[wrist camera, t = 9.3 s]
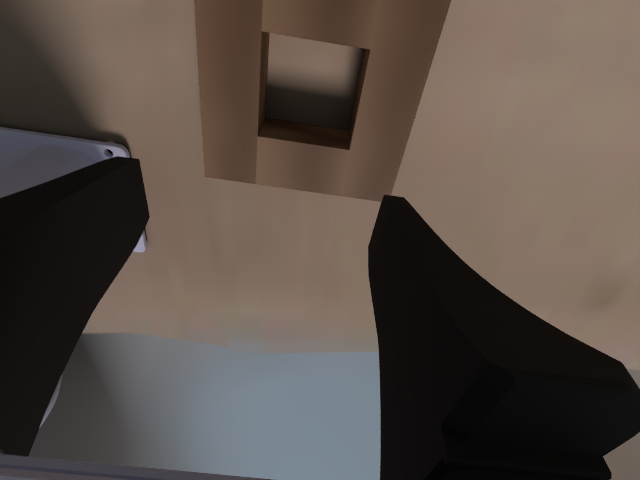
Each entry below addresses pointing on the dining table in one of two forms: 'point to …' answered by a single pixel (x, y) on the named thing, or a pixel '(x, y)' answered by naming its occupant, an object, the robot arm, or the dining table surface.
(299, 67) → the dining table surface
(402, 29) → the socket block
